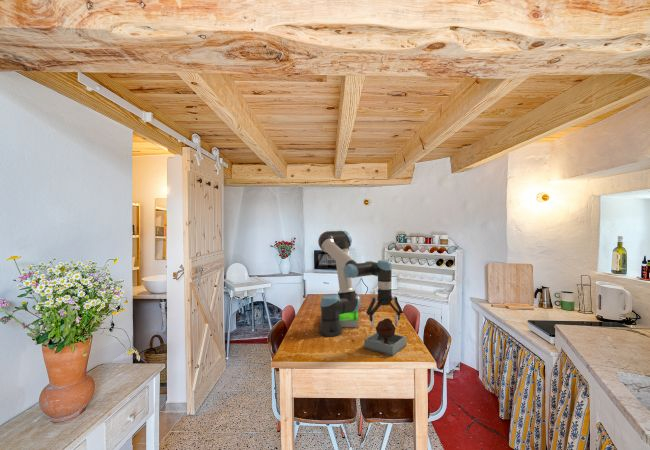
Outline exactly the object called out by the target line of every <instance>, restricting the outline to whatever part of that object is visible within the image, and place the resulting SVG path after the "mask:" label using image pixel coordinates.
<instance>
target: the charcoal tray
mask: <svg viewBox="0 0 650 450" xmlns="http://www.w3.org/2000/svg"><path fill="white" fill-rule="evenodd" d="M387 341H388V343H390V344H391V345H388V344H384V343H383V342H384V338H383V337H381V336H380V335H379V334H378V333H377V331H376V332H373V334H371V335H369V336H367V337H365V338H364V339H363V346H364V347H363V348H364V349H365V350H368V351H373V352H376V353H380V354H383V355H387V356H391V357H393V356H395V355H397V353H399V352H400V351H402V350H403V349H404V348H406V347H407V336H405V335H401V334H396V333H394V335H393V336H392V337H390V338H388V339H387Z"/></svg>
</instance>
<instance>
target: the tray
mask: <svg viewBox="0 0 650 450" xmlns="http://www.w3.org/2000/svg"><path fill="white" fill-rule="evenodd" d="M339 320H340V323H341V327H342V328H359V309H358V310H357V311H354V312H349V313H344V314H339Z"/></svg>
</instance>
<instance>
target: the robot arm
mask: <svg viewBox="0 0 650 450" xmlns="http://www.w3.org/2000/svg"><path fill="white" fill-rule="evenodd" d="M352 240H353V239H352V236H351V234H350V233H349V232H348V231H346V230H329V231H328V230H327V231H324V232H322V233H321V234H320V235H319V237H318V240H317V242H318V243H317V244H318V246H319V248H320V250H322V252H324V253H327V254H328V255H329V256H330V257H331V258H332V259H334V261H335V265H336V272H337V279H338V280H337V281H338V286H339V287H338V288H339V290H338V291H337V293H328V294H327V293H326V294H325V295H323V296H322V297H321V299H320V322H319V326H318V334H319V335H320V336H324V337H337V336H340V335H342V334H343V327H341V323H340V320H339V314H344V313H349V312H354V311H357V310H358V311H359V308H360V306H361V296H360V295H359V294H358V293H356V290H355V289H354V288H353V282H352V279H355V278H361V277H367V276H368V277H369V276H375V277H377V297H373V296H372V297H371V302H370V304H369V305H368V308H367V310H366V311H365V313H366V314H367V316H369V321H370V322H371V328H372V329H374V328H375V315H374V314H375V313H376V312H377V311H378V309H379V308H380V307H381V306H383V307H385V306H387V307H388V306H390V307H391V309H393V311H394V312H395V313H394V326H395V328H397V327H398V328H399V321H400V318H401V317H400V315H401V314H404V312H403V309H402V307H401V305H400V303H399V301H398V296H395V295H394V296H392V261H391V260H388V259H380V260H379V259H378V261H377V262H375V261H372V260H370V261H369V260H368V261H365V262H360V263H358V262H356V260H354V259H353V258H352V257H351V256H349V255H348V252H349V251H350V247H351V246H352V243H353V242H352ZM376 301H377V302H376ZM392 301H394V303H395V304H393V303H392ZM395 305H396V307H397V308H396V307H395Z"/></svg>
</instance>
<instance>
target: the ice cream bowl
mask: <svg viewBox="0 0 650 450" xmlns="http://www.w3.org/2000/svg"><path fill="white" fill-rule="evenodd" d="M396 328H397V327H396V326H395V324H393V321H392V320H391V319H390V318H386V317H385V318H384V319H383V320H379V321H378V322H377V325H376V326H375V331H376V332H377V333H378V334H379V335H380V336H381V337H383V338H384V342H383V343H384V344H388V345H391V344H390V343H388V341H387V339H388V338H390V337H392V336H393V335H394V334H396Z"/></svg>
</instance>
